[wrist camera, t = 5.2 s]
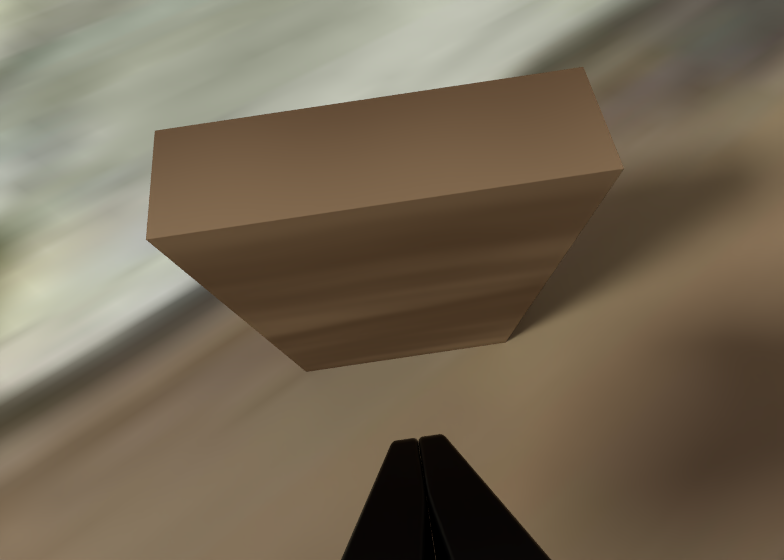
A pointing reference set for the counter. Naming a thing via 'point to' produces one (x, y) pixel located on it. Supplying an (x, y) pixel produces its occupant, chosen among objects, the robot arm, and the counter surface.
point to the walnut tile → (386, 213)
